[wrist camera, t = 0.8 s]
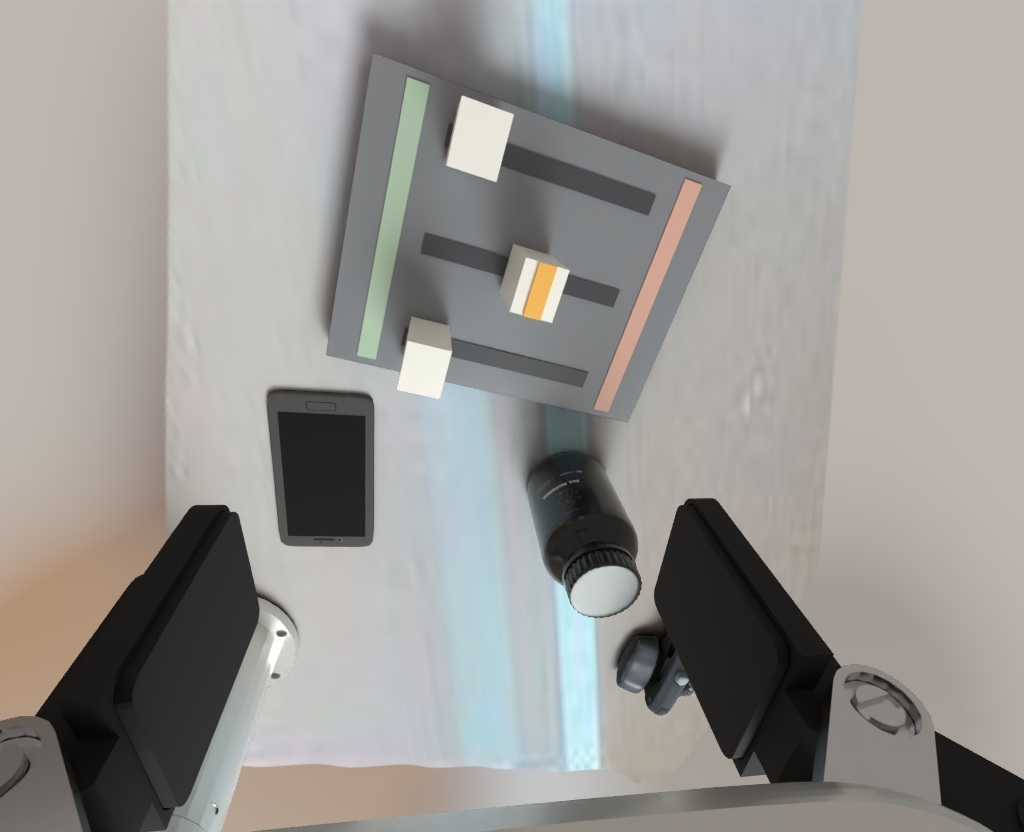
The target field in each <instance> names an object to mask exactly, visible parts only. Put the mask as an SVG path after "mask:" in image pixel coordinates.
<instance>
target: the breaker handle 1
mask: <svg viewBox="0 0 1024 832" xmlns="http://www.w3.org/2000/svg"><path fill="white" fill-rule="evenodd" d="M451 354H452V344H451V332H450V326H448V325H444V324H440V323H436V322H432V321H428V320H424V319H420V318H416V317H412V316H411V321H410V325H409V330H408V335H407V339H406V344H405V348H404V353H403V357H402V362H401V368H400V374H399V380H398V386H397V390H400V391H405V392H410V393H414V394H419V395H424V396H428V397H433V398H438V399H440V396H441V392H442V388H443V385H444V381H445V377H446V373H447V369H448V365H449V362H450V358H451Z"/></svg>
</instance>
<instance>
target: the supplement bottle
mask: <svg viewBox="0 0 1024 832" xmlns="http://www.w3.org/2000/svg"><path fill="white" fill-rule="evenodd" d="M527 495H528V501H529V505H530V509H531V514H532V518H533V522H534V526H535V530H536V534H537V538H538V542H539V546H540V550H541V554H542V558H543V562H544V565H545V567H546V570H547V571H548V573H549V574H550V576H551V577H552V578H553V579H554V580H556V581H557V582H558V583H560V584H561V585H563V586H564V587H565V590H566V591H567V594H568V598H569V601H570V603H571V605H572V606H573V608H574V609H575V610H577V612H578V613H581V614H582V615H586V616H588V617H594V618H598V617H600V618H603V617H609V616H612V615H616V614H618V613H620V612H623V611H624V610H625V609H628V608H629V606H631V605H632V604H633V603H634V601H635V600H637V597H638V596H639V595H640V590H641V589H642V588H641V585H642V582H641V577H640V574H639V572H638V570H637V568H636V563H635V559H636V556H637V552H638V538H637V534H636V532H635V530H634V527H633V525H632V523H631V521H630V519H629V517H628V515H627V513H626V511H625V509H624V507H623V506H622V504H621V502H620V500H619V498H618V496H617V494H616V492H615V490H614V488H613V486H612V484H611V482H610V480H609V478H608V476H607V474H606V473H605V471H604V469H603V468H602V466H601V465H600V464H599V463H598V462H597V461H596V460H595V459H593V458H592V457H590V456H588V455H585V454H582V453H577V452H565V453H560V454H557V455H554V456H552V457H550V458H548V459H546V460H545V461H543V462H542V463H541V464H540V465H538V466H537V468H536V469H535V470H534V471H533V473H532V475H531V477H530V479H529V482H528V486H527Z"/></svg>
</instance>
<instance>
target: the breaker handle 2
mask: <svg viewBox="0 0 1024 832" xmlns="http://www.w3.org/2000/svg"><path fill="white" fill-rule="evenodd" d="M513 116H514V114H511V113H509V112H506V111H503V110H501V109H498V108H495V107H492V106H490V105H487V104H484V103H481V102H479V101H476V100H473V99H471V98H468V97H465V96H462V97H461V99H460V102H459V104H458V107H457V112H456V116H455V121H454V125H453V130H452V135H451V139H450V144H449V148H448V153H447V157H446V162H445V165H446V166H449V167H452V168H455V169H458V170H461V171H464V172H467V173H470V174H473V175H476V176H479V177H482V178H485V179H488V180H491V181H494V182H497V178H498V174H499V170H500V166H501V162H502V159H503V155H504V151H505V147H506V143H507V139H508V136H509V132H510V128H511V124H512V120H513Z"/></svg>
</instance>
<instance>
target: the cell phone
mask: <svg viewBox="0 0 1024 832" xmlns="http://www.w3.org/2000/svg"><path fill="white" fill-rule="evenodd" d="M267 410H268V420H269V430H270V440H271V451H272V461H273V471H274V482H275V492H276V502H277V513H278V523H279V533H280V538H281V542H282V543H284V544H285V545H288V546H323V547H363V546H368V545H370V544H371V543H372V541H373V532H374V403H373V400H372V398H371V397H369V396H366V395H361V394H349V393H332V392H314V391H296V390H275V391H272V392H270V394H269V395H268V406H267Z"/></svg>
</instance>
